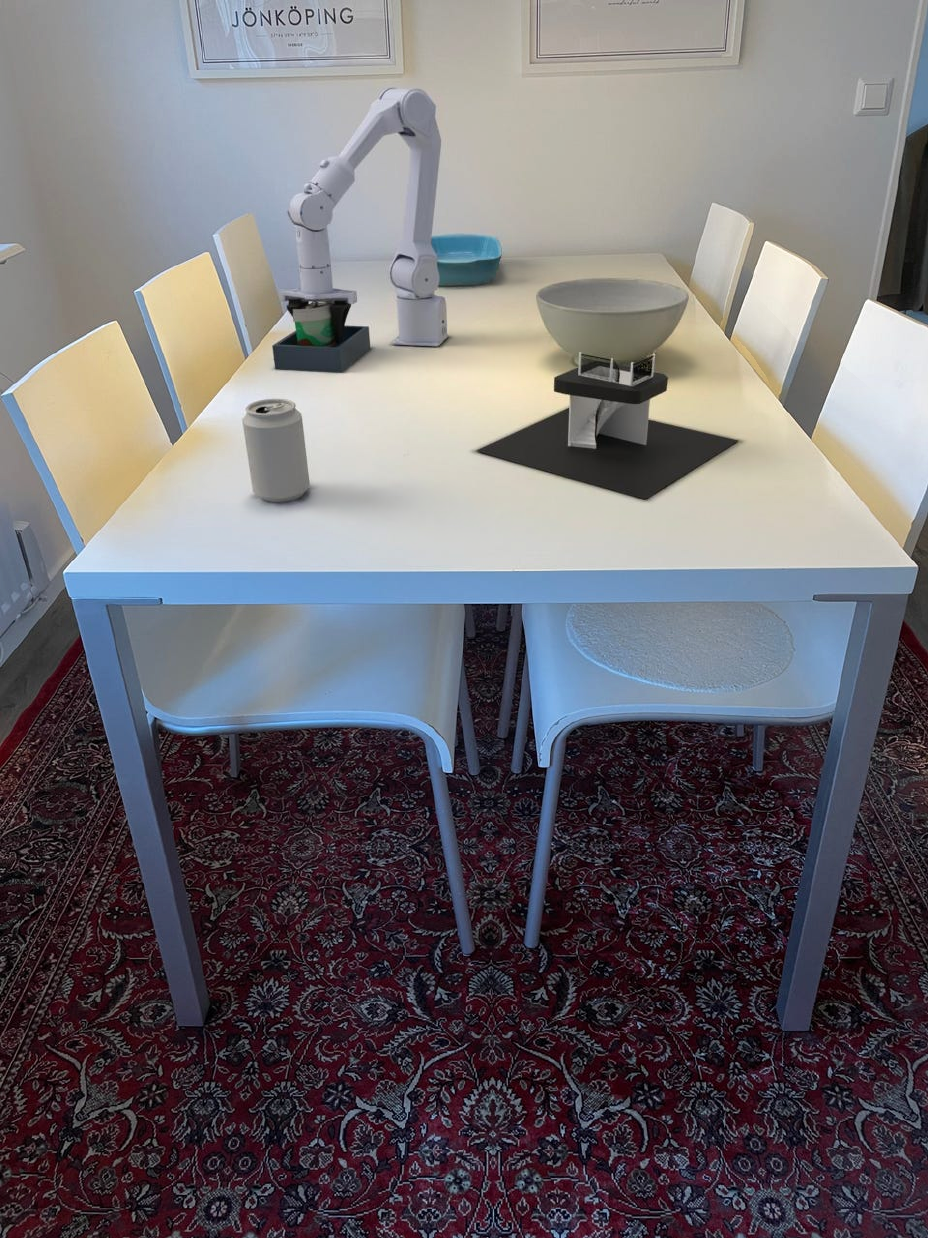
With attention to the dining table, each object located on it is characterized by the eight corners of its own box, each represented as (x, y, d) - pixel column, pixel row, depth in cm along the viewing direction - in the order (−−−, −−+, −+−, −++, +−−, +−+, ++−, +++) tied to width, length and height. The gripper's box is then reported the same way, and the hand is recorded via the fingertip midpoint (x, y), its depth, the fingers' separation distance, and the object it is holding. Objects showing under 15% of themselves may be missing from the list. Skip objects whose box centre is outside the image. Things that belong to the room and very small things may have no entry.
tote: (370, 348, 183) (368, 326, 181) (341, 372, 170) (339, 348, 168) (308, 345, 186) (305, 323, 184) (274, 368, 173) (271, 345, 171)
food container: (329, 366, 172) (324, 310, 167) (298, 365, 173) (291, 309, 168) (349, 348, 182) (345, 295, 177) (319, 347, 184) (314, 294, 178)
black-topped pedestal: (475, 451, 135) (474, 358, 128) (578, 404, 152) (582, 320, 145) (645, 500, 119) (654, 397, 112) (738, 441, 136) (751, 349, 129)
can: (256, 483, 127) (243, 396, 120) (312, 480, 127) (302, 393, 121) (250, 506, 120) (236, 415, 114) (309, 503, 121) (298, 412, 114)
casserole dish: (504, 289, 226) (504, 257, 222) (411, 291, 226) (410, 260, 223) (498, 259, 258) (498, 231, 254) (417, 261, 258) (416, 234, 254)
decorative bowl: (697, 349, 178) (704, 283, 171) (660, 390, 157) (667, 317, 151) (563, 336, 187) (565, 273, 181) (512, 374, 167) (512, 304, 160)
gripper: (268, 268, 168) (278, 345, 175) (344, 270, 164) (351, 348, 171) (284, 261, 173) (293, 335, 180) (358, 263, 170) (364, 338, 177)
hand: (322, 341), depth 176 cm, fingers closed on food container, 6 cm apart
